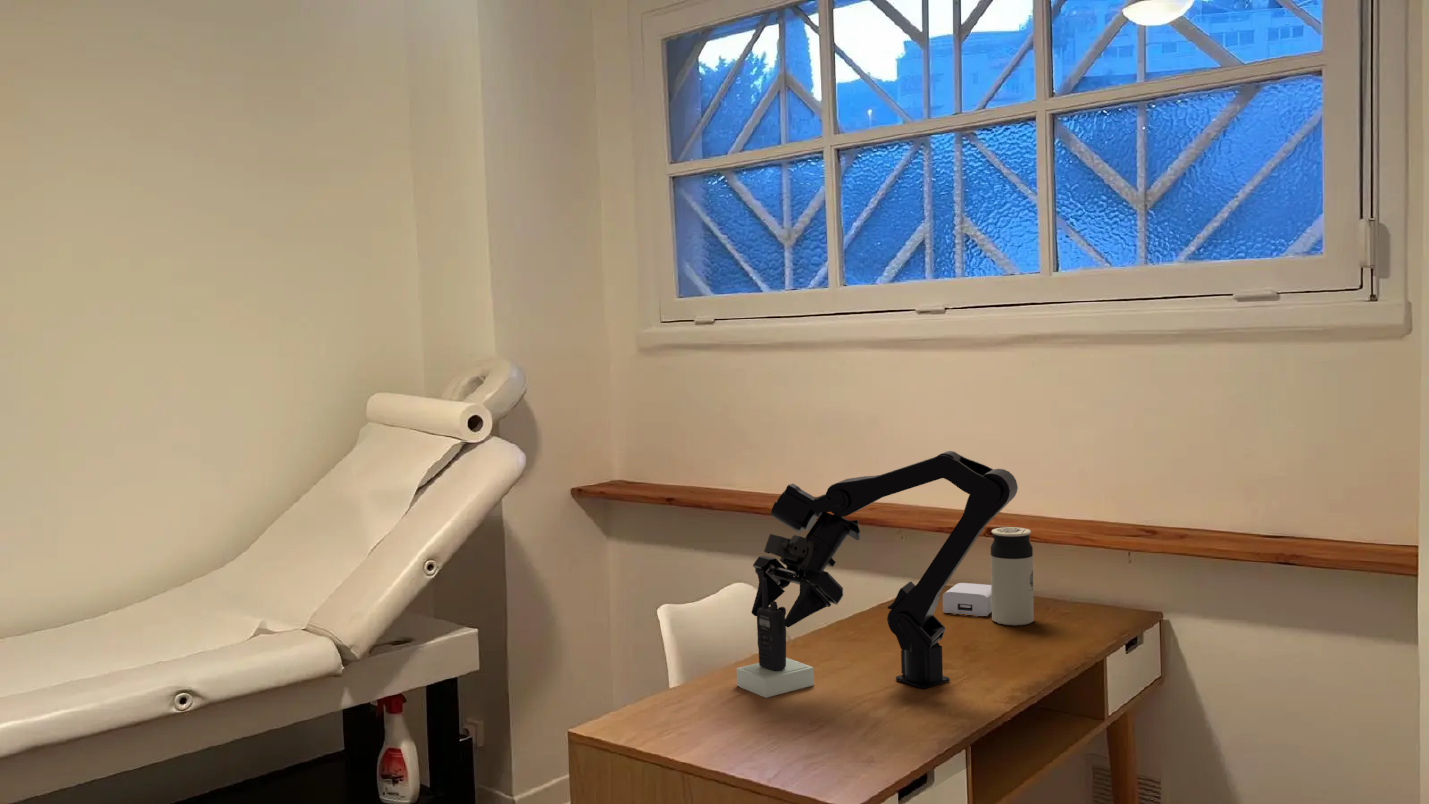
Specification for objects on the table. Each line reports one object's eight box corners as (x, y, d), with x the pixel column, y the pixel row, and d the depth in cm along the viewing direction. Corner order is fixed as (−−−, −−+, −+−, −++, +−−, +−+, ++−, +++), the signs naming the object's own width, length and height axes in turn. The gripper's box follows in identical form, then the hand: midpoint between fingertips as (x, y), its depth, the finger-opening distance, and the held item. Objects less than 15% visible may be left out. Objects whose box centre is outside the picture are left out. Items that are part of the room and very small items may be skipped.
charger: (1006, 601, 245) (987, 618, 231) (964, 597, 249) (942, 614, 236) (1006, 579, 244) (987, 595, 231) (963, 576, 249) (942, 591, 235)
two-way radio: (754, 666, 193) (751, 577, 192) (774, 660, 196) (772, 573, 195) (775, 673, 189) (773, 582, 188) (796, 667, 192) (793, 578, 191)
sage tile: (814, 685, 192) (813, 666, 192) (765, 697, 187) (765, 678, 186) (784, 674, 199) (784, 656, 199) (737, 685, 193) (736, 667, 193)
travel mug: (986, 623, 227) (984, 532, 225) (999, 614, 233) (997, 525, 232) (1026, 628, 222) (1025, 535, 221) (1038, 618, 229) (1037, 528, 228)
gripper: (760, 509, 201) (708, 581, 196) (826, 522, 185) (772, 602, 180) (798, 548, 206) (748, 619, 201) (866, 564, 190) (814, 642, 185)
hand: (769, 620), depth 191 cm, fingers open, 9 cm apart
